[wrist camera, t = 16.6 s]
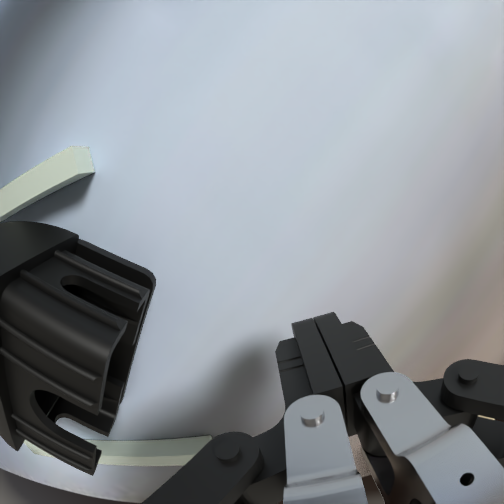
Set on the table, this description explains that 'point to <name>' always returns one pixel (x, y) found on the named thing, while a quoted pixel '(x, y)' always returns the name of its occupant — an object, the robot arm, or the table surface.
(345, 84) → the table surface
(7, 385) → the end cap
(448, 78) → the table surface
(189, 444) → the pale green frame
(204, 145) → the table surface
